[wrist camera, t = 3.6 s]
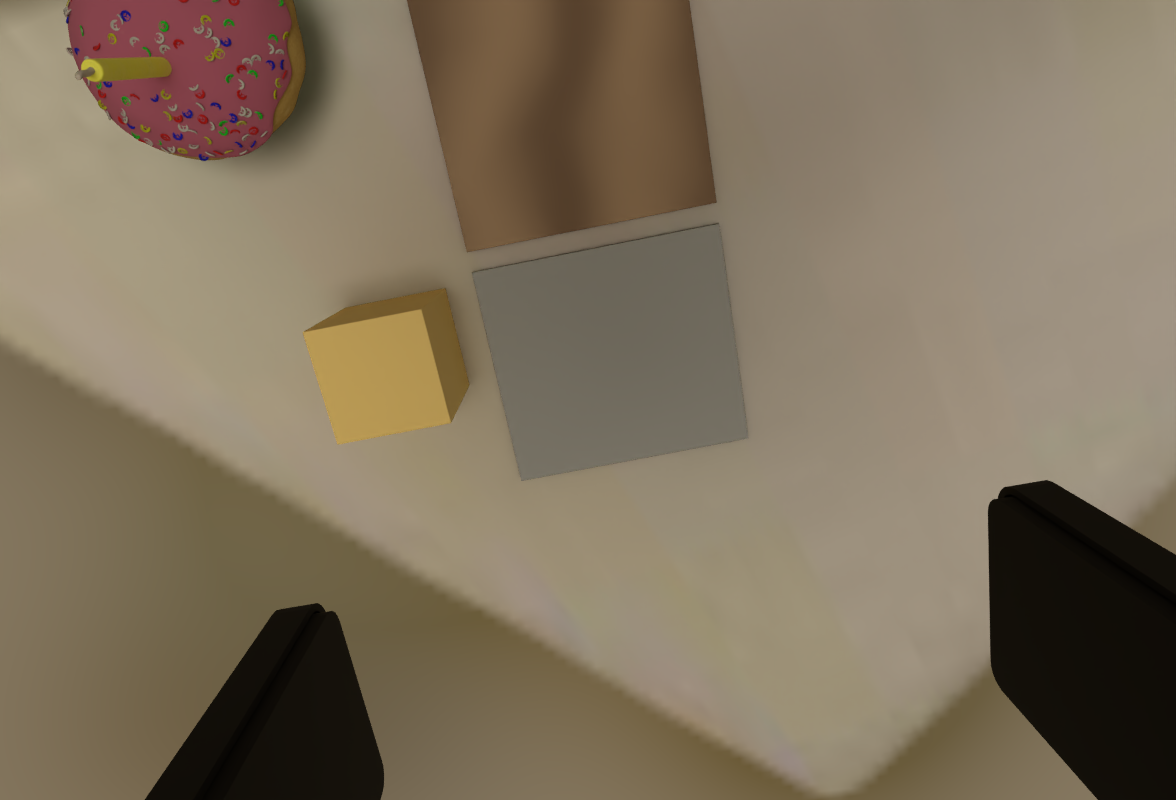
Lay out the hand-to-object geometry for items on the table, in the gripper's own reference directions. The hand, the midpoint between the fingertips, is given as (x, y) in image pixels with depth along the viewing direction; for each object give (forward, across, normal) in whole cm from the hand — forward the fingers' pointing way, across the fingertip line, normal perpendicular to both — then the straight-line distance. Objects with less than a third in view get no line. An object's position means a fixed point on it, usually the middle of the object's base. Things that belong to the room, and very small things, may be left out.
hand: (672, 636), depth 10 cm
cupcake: (+27, +14, -14) cm, 33 cm away
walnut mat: (+27, 0, -10) cm, 28 cm away
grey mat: (+27, -1, +2) cm, 27 cm away
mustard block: (+27, +9, 0) cm, 28 cm away
